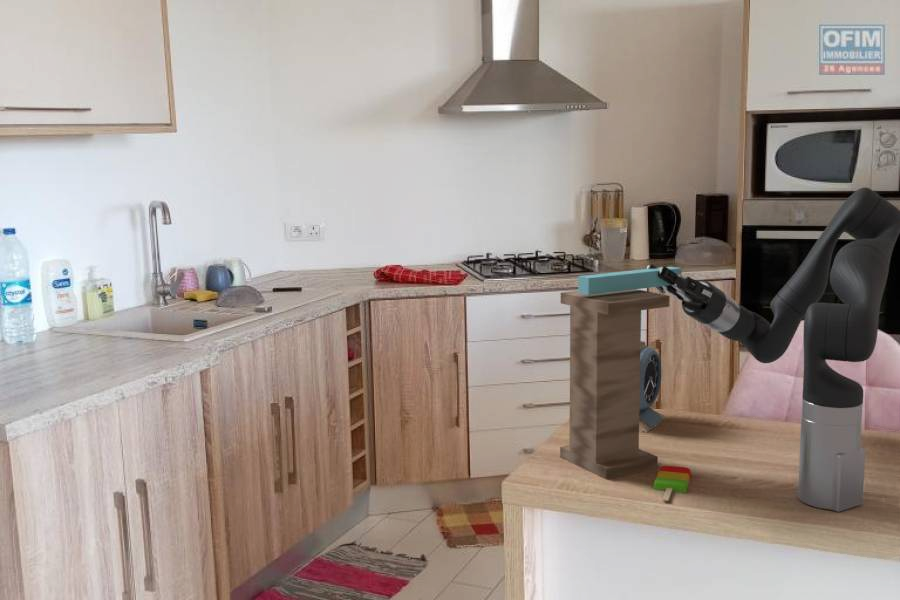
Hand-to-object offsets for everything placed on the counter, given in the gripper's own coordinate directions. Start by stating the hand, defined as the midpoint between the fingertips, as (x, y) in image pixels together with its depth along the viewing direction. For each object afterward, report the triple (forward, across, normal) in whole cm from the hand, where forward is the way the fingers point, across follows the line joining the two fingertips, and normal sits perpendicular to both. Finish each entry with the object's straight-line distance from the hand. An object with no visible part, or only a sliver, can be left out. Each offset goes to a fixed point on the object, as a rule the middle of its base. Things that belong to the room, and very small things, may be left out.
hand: (654, 269), depth 175 cm
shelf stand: (-10, 0, +36) cm, 37 cm away
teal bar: (+3, 0, +5) cm, 6 cm away
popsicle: (-10, +16, +36) cm, 41 cm away
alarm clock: (-27, -17, +26) cm, 41 cm away
